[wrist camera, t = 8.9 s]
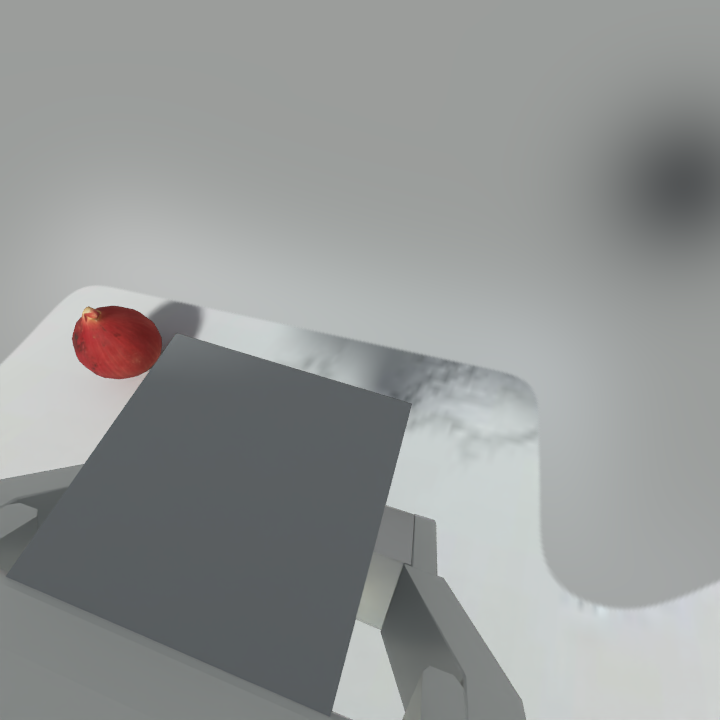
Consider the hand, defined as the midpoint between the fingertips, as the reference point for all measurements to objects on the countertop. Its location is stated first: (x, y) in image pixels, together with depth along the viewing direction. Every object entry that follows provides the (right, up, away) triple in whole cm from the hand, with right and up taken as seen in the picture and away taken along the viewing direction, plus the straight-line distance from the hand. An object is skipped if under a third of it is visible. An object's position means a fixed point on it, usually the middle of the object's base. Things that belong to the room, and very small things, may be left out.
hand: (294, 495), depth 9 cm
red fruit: (-18, +3, +23) cm, 29 cm away
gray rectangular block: (0, -3, +4) cm, 5 cm away
